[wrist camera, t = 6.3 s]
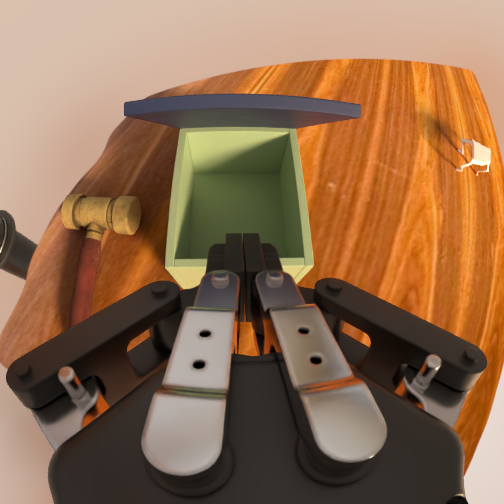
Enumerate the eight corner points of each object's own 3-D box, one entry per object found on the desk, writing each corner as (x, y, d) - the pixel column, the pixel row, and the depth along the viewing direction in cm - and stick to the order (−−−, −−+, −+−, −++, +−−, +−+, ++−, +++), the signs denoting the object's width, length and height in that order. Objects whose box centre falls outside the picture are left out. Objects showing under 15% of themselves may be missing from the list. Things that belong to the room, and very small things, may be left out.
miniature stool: (458, 139, 44) (470, 125, 40) (484, 167, 43) (497, 155, 38) (443, 163, 41) (457, 148, 36) (473, 195, 39) (488, 183, 35)
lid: (361, 118, 13) (361, 104, 13) (123, 116, 12) (123, 102, 12) (296, 129, 29) (296, 121, 28) (179, 128, 28) (179, 121, 28)
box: (293, 287, 32) (314, 265, 24) (182, 288, 31) (164, 267, 23) (283, 172, 37) (295, 128, 29) (189, 172, 36) (180, 128, 28)
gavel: (102, 377, 24) (35, 354, 24) (119, 372, 29) (55, 353, 28) (133, 189, 30) (67, 187, 30) (144, 206, 34) (82, 202, 34)
